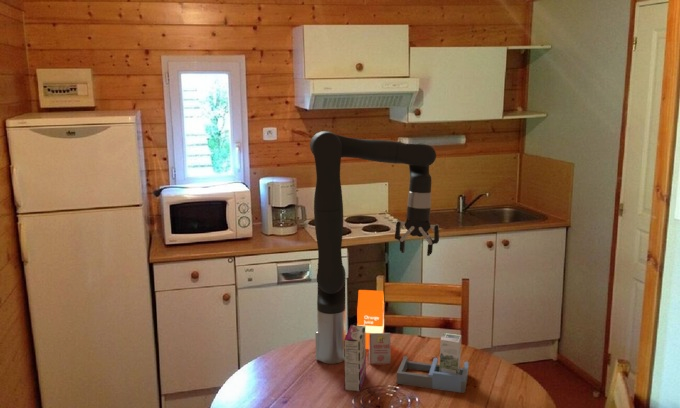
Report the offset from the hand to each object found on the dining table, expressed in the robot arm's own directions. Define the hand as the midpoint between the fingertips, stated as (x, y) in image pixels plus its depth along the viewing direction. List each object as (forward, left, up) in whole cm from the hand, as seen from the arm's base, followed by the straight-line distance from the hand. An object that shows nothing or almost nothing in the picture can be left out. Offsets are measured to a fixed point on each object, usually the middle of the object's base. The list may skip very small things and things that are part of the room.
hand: (415, 253), depth 193 cm
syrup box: (+14, -17, -35) cm, 41 cm away
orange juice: (-16, +2, -35) cm, 38 cm away
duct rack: (+9, -17, -35) cm, 40 cm away
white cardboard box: (-10, -10, -35) cm, 38 cm away
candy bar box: (-14, -26, -35) cm, 46 cm away
